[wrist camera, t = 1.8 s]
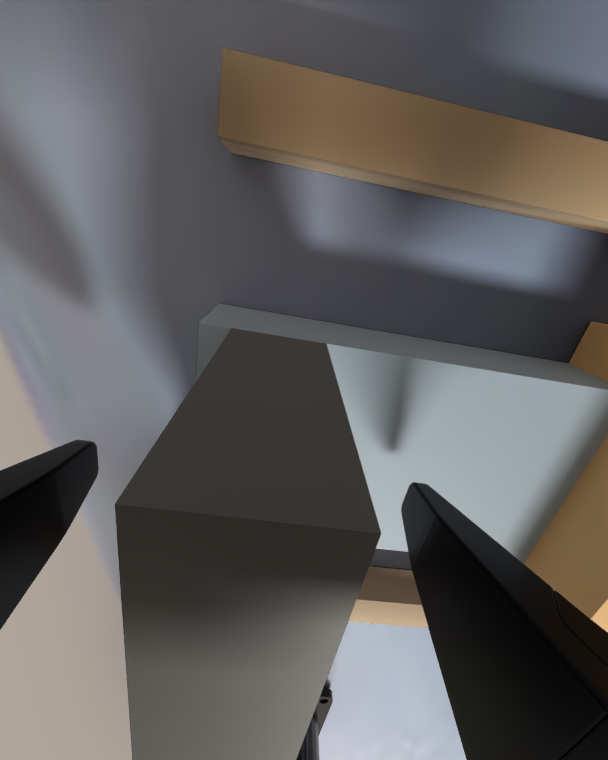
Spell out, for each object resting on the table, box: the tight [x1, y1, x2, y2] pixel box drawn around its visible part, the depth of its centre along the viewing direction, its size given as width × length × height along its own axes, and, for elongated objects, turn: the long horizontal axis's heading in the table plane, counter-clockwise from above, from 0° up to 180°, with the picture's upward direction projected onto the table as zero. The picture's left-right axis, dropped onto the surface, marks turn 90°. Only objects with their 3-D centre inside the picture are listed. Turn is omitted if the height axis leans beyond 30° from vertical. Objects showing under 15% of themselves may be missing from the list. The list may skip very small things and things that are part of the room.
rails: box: [218, 47, 608, 628], centre depth 12 cm, size 18×23×2 cm
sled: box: [115, 304, 608, 760], centre depth 9 cm, size 10×13×8 cm
